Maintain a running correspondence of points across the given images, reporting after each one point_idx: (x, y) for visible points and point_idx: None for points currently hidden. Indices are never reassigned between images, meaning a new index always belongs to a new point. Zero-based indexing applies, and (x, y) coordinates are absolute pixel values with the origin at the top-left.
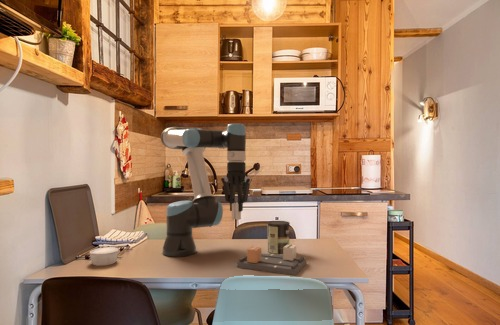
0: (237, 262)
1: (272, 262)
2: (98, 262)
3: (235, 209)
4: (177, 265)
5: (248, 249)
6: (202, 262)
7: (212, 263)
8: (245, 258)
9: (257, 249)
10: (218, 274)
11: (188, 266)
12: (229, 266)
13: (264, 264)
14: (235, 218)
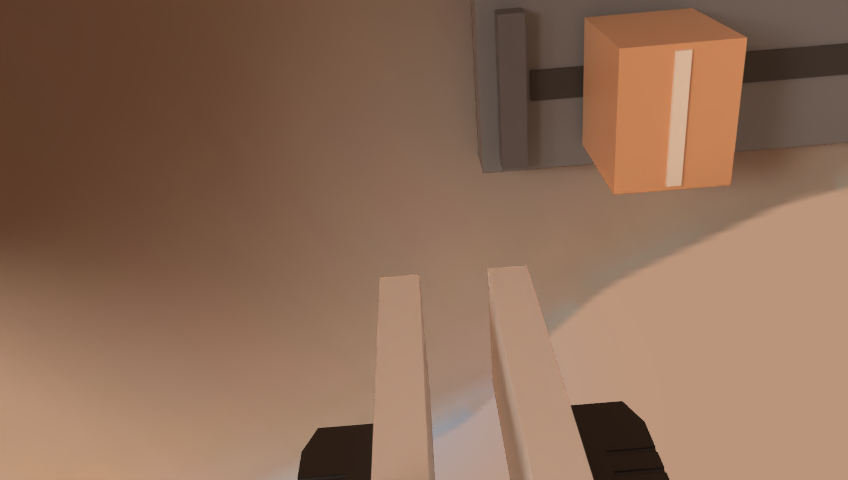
0: (489, 172)
1: (823, 11)
2: None
3: (428, 447)
4: (12, 345)
5: (631, 191)
6: (114, 187)
7: (214, 168)
8: (524, 65)
9: (731, 146)
10: (440, 359)
11: (107, 325)
12: (406, 167)
13: (760, 113)
14: (422, 313)
